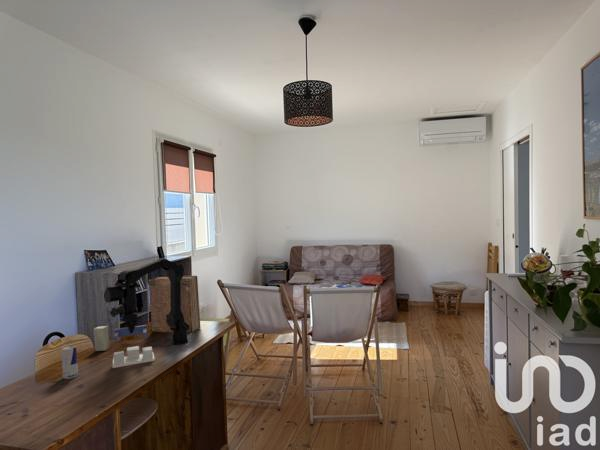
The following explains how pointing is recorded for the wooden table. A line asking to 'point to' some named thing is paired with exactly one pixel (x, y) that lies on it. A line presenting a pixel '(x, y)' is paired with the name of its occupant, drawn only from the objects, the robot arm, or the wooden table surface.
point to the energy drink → (69, 362)
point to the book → (162, 302)
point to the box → (101, 338)
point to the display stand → (133, 357)
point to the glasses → (125, 332)
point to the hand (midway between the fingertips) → (131, 332)
